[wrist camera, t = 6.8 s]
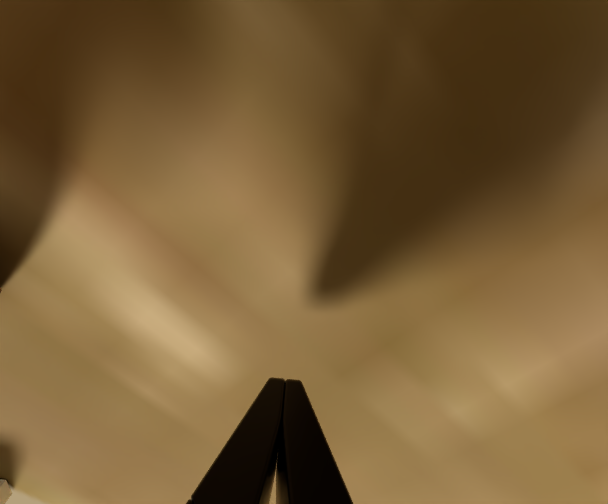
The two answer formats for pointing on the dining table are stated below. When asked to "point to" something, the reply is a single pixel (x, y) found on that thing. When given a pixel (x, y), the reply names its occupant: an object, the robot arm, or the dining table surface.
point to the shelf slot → (4, 491)
